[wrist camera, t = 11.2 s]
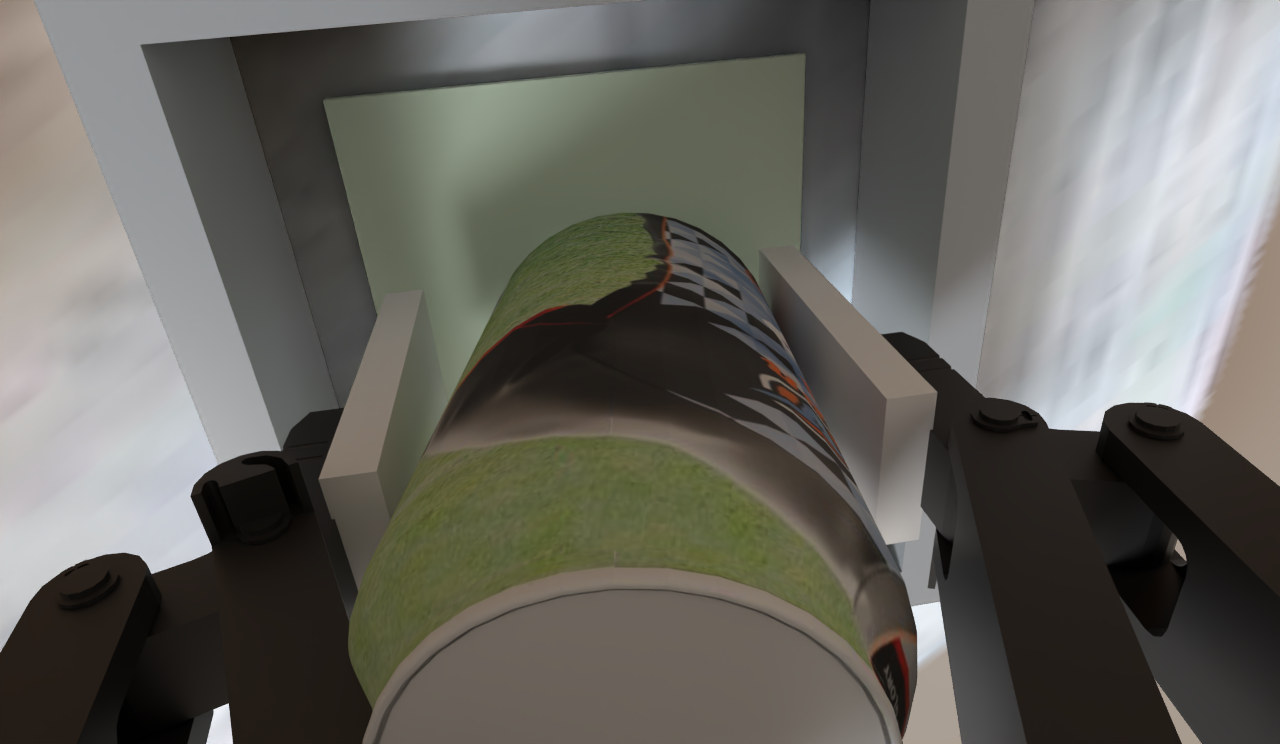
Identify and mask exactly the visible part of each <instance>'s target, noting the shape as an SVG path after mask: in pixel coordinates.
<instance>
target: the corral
mask: <svg viewBox="0 0 1280 744" xmlns="http://www.w3.org/2000/svg"><path fill="white" fill-rule="evenodd" d="M632 1H644V0H34V2H35V5H36V7H37V10H38V12H39V15H40V17H41V20H42V22H43V25H44V27H45V30H46V32H47V35H48V37H49V40H50V42H51V45H52V47H53V50H54V53H55V55H56V58H57V60H58V63H59V65H60V68H61V70H62V73H63V75H64V78H65V80H66V83H67V85H68V88H69V90H70V93H71V95H72V98H73V100H74V103H75V105H76V108H77V110H78V113H79V115H80V118H81V120H82V123H83V125H84V128H85V131H86V133H87V136H88V138H89V141H90V143H91V146H92V148H93V151H94V153H95V156H96V158H97V161H98V163H99V166H100V168H101V171H102V173H103V176H104V178H105V181H106V183H107V186H108V188H109V191H110V193H111V196H112V198H113V201H114V203H115V206H116V209H117V211H118V214H119V216H120V219H121V221H122V224H123V226H124V229H125V231H126V234H127V236H128V239H129V241H130V244H131V246H132V249H133V251H134V254H135V256H136V259H137V261H138V264H139V266H140V269H141V271H142V274H143V276H144V279H145V281H146V284H147V287H148V289H149V292H150V294H151V297H152V299H153V302H154V304H155V307H156V309H157V312H158V314H159V317H160V319H161V322H162V324H163V327H164V329H165V332H166V334H167V337H168V339H169V342H170V344H171V347H172V349H173V352H174V354H175V357H176V359H177V362H178V365H179V367H180V370H181V372H182V375H183V377H184V380H185V382H186V385H187V387H188V390H189V392H190V395H191V397H192V400H193V402H194V405H195V407H196V410H197V412H198V415H199V417H200V420H201V422H202V425H203V427H204V430H205V432H206V435H207V437H208V440H209V443H210V445H211V448H212V450H213V453H214V455H215V458H216V460H217V463H218V465H219V464H221V463H223V462H226V461H228V460H231V459H233V458H235V457H238V456H240V455H245V454H249V453H254V452H258V451H282V450H283V445H284V443H285V441H286V439H287V436H288V434H289V432H290V430H291V429H292V428H293V427H294V426H295V425H296V424H297V423H298V422H300V421H301V420H302V419H303V418H304V417H305V416H306V415H307V414H309V413H310V412H315V411H323V410H330V409H338V408H339V406H338V402H337V399H336V395H335V392H334V389H333V385H332V382H331V379H330V375H329V372H328V368H327V365H326V362H325V358H324V355H323V352H322V348H321V345H320V341H319V338H318V335H317V331H316V328H315V325H314V321H313V318H312V314H311V311H310V308H309V304H308V301H307V297H306V294H305V291H304V287H303V284H302V281H301V277H300V274H299V270H298V267H297V264H296V260H295V257H294V254H293V250H292V247H291V243H290V240H289V237H288V233H287V230H286V227H285V223H284V220H283V216H282V213H281V210H280V206H279V203H278V200H277V196H276V193H275V189H274V186H273V183H272V179H271V176H270V172H269V169H268V166H267V162H266V159H265V156H264V152H263V149H262V145H261V142H260V139H259V135H258V132H257V129H256V125H255V122H254V118H253V115H252V112H251V108H250V105H249V102H248V98H247V95H246V91H245V88H244V85H243V81H242V78H241V75H240V71H239V68H238V64H237V61H236V58H235V54H234V51H233V47H232V44H231V41H230V37H233V36H244V35H256V34H267V33H279V32H290V31H301V30H313V29H324V28H336V27H347V26H359V25H370V24H381V23H393V22H404V21H416V20H427V19H438V18H450V17H461V16H473V15H484V14H495V13H507V12H518V11H530V10H541V9H552V8H564V7H575V6H587V5H598V4H609V3H621V2H632ZM1034 3H1035V0H871V2H870V18H869V34H868V50H867V66H866V82H865V99H864V115H863V131H862V147H861V163H860V179H859V195H858V212H857V228H856V244H855V260H854V276H853V292H852V306H853V307H854V308H855V309H856V310H857V311H858V312H859V313H860V314H861V315H862V316H863V317H864V318H865V319H866V320H867V321H868V322H869V323H870V324H871V325H872V326H873V327H874V328H875V329H876V330H877V331H878V332H879V333H880V334H887V333H895V332H904V333H906V334H908V335H911V336H913V337H915V338H917V339H919V340H922V341H924V342H926V343H927V344H928V345H929V346H930V347H931V348H932V349H933V350H934V351H935V352H936V353H937V354H939V356H940V358H943V359H944V360H945V361H946V362H947V363H948V364H949V365H950V366H951V369H955V370H956V371H957V372H958V373H959V374H960V375H961V376H962V377H963V378H964V379H965V380H966V381H968V382H969V383H970V384H971V385H972V386H973V387H974V388H975V389H976V384H977V377H978V371H979V364H980V358H981V351H982V345H983V338H984V331H985V325H986V318H987V312H988V305H989V299H990V292H991V285H992V279H993V272H994V266H995V259H996V253H997V246H998V239H999V233H1000V226H1001V220H1002V213H1003V207H1004V200H1005V193H1006V187H1007V180H1008V174H1009V167H1010V161H1011V154H1012V147H1013V141H1014V134H1015V128H1016V121H1017V115H1018V108H1019V101H1020V95H1021V88H1022V82H1023V75H1024V69H1025V62H1026V55H1027V49H1028V42H1029V36H1030V29H1031V23H1032V16H1033V9H1034ZM805 57H806V54H804V53H792V54H782V55H771V56H761V57H750V58H740V59H729V60H719V61H709V62H698V63H688V64H677V65H667V66H656V67H646V68H635V69H625V70H615V71H604V72H594V73H583V74H573V75H562V76H552V77H542V78H531V79H521V80H510V81H500V82H489V83H479V84H469V85H458V86H448V87H437V88H427V89H416V90H406V91H396V92H385V93H375V94H364V95H354V96H343V97H333V98H325V99H324V100H323V104H324V108H325V111H326V115H327V119H328V123H329V127H330V131H331V135H332V139H333V143H334V147H335V151H336V155H337V159H338V163H339V167H340V171H341V175H342V179H343V183H344V187H345V191H346V195H347V199H348V202H349V206H350V210H351V214H352V218H353V222H354V226H355V230H356V234H357V238H358V242H359V246H360V250H361V254H362V258H363V262H364V266H365V270H366V274H367V278H368V282H369V286H370V290H371V293H372V297H373V301H374V305H375V309H376V313H377V317H378V314H379V311H380V309H381V306H382V303H383V300H384V298H385V295H386V294H388V293H396V292H405V291H413V290H421V289H423V291H424V295H425V300H426V304H427V309H428V314H429V318H430V323H431V327H432V332H433V337H434V341H435V346H436V350H437V355H438V359H439V364H440V369H441V373H442V378H443V382H444V387H445V391H446V396H447V401H448V402H449V400H450V398H451V396H452V394H453V392H454V390H455V388H456V386H457V383H458V381H459V379H460V377H461V375H462V373H463V371H464V369H465V367H466V365H467V363H468V361H469V359H470V357H471V355H472V353H473V351H474V349H475V347H476V345H477V343H478V341H479V339H480V337H481V335H482V333H483V331H484V329H485V326H486V324H487V322H488V320H489V318H490V316H491V314H492V312H493V310H494V308H495V306H496V304H497V302H498V300H499V298H500V296H501V294H502V292H503V290H504V289H505V287H506V285H507V283H508V281H509V280H510V278H511V276H512V274H513V273H514V271H515V270H516V269H517V268H518V267H519V265H520V264H521V263H522V262H523V261H524V260H525V258H526V257H527V256H528V255H529V254H530V253H531V252H532V251H533V250H535V249H536V248H537V247H538V246H539V245H541V244H542V243H543V242H544V241H546V240H547V239H548V238H549V237H551V236H553V235H555V234H556V233H558V232H560V231H562V230H564V229H566V228H567V227H569V226H571V225H573V224H576V223H579V222H582V221H585V220H588V219H591V218H594V217H597V216H604V215H611V214H617V213H650V214H655V215H660V216H665V217H670V218H675V219H678V220H680V221H683V222H685V223H688V224H690V225H693V226H695V227H698V228H700V229H702V230H703V231H705V232H706V233H708V234H710V235H711V236H713V237H715V238H716V239H718V240H719V241H721V242H722V243H723V244H724V245H726V246H727V247H728V248H729V249H730V250H731V251H732V252H733V253H734V254H736V255H737V256H738V257H739V258H740V259H741V261H742V262H743V263H744V265H745V266H746V267H747V268H748V270H749V271H750V272H751V274H752V275H753V276H754V278H755V280H756V282H757V284H758V286H759V249H763V248H771V247H780V246H788V245H794V246H795V247H796V248H797V249H798V250H799V251H800V242H801V205H802V168H803V131H804V94H805ZM935 531H936V527H935V525H934V524H933V523H932V521H931V520H930V519H929V517H928V516H927V515H926V513H925V512H924V511H923V510H922V518H921V526H920V534H919V540H913V541H907V542H900V543H894V544H888V545H887V547H888V549H889V551H890V553H891V555H892V557H893V559H894V561H895V563H896V565H897V568H898V570H899V572H900V574H901V576H902V578H903V580H904V582H905V585H906V588H907V592H908V596H909V600H910V605H911V606H916V605H922V604H928V603H934V602H940V597H939V590H938V584H937V582H936V586H935V589H930V588H928V581H929V574H930V567H931V560H932V552H933V545H934V538H935Z"/></svg>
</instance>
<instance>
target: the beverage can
mask: <svg viewBox="0 0 1280 744" xmlns="http://www.w3.org/2000/svg"><path fill="white" fill-rule="evenodd" d="M348 650H349V657H350V660H351V664H352V666H353V669H354V671H355V673H356V676H357V678H358V680H359V682H360V684H361V686H362V688H363V690H364V693H365V695H366V697H367V699H368V701H369V703H370V705H371V707H372V710H373V712H372V715H371V718H370V721H369V724H368V727H367V729H366V732H365V735H364V738H363V744H903V741H902V739H903V736H904V734H905V732H906V728H907V724H908V720H909V715H910V711H911V707H912V702H913V698H914V693H915V689H916V684H917V630H916V625H915V621H914V617H913V613H912V609H911V605H910V600H909V596H908V592H907V588H906V585H905V582H904V580H903V578H902V576H901V574H900V572H899V570H898V568H897V565H896V563H895V561H894V559H893V557H892V555H891V553H890V551H889V549H888V547H887V545H886V543H885V541H884V539H883V537H882V535H881V533H880V531H879V529H878V527H877V525H876V523H875V521H874V519H873V517H872V515H871V513H870V511H869V509H868V507H867V505H866V503H865V501H864V498H863V496H862V494H861V492H860V490H859V488H858V486H857V484H856V482H855V480H854V478H853V476H852V474H851V472H850V470H849V468H848V466H847V464H846V462H845V460H844V458H843V456H842V454H841V452H840V450H839V448H838V446H837V444H836V442H835V440H834V438H833V436H832V434H831V431H830V429H829V427H828V425H827V423H826V421H825V419H824V417H823V415H822V413H821V411H820V409H819V407H818V405H817V403H816V401H815V399H814V397H813V395H812V393H811V391H810V389H809V387H808V385H807V383H806V381H805V379H804V377H803V375H802V373H801V371H800V369H799V367H798V364H797V362H796V360H795V358H794V356H793V354H792V352H791V350H790V348H789V346H788V344H787V342H786V340H785V338H784V336H783V334H782V332H781V330H780V328H779V326H778V324H777V322H776V320H775V318H774V316H773V314H772V312H771V310H770V308H769V306H768V304H767V302H766V300H765V298H764V296H763V294H762V292H761V290H760V288H759V286H758V284H757V282H756V280H755V278H754V276H753V275H752V274H751V272H750V271H749V270H748V268H747V267H746V266H745V265H744V263H743V262H742V261H741V259H740V258H739V257H738V256H737V255H736V254H734V253H733V252H732V251H731V250H730V249H729V248H728V247H727V246H726V245H724V244H723V243H722V242H721V241H719V240H718V239H716V238H715V237H713V236H711V235H710V234H708V233H706V232H705V231H703V230H702V229H700V228H698V227H695V226H693V225H690V224H688V223H685V222H683V221H680V220H678V219H675V218H670V217H665V216H660V215H655V214H650V213H617V214H611V215H604V216H597V217H594V218H591V219H588V220H585V221H582V222H579V223H576V224H573V225H571V226H569V227H567V228H566V229H564V230H562V231H560V232H558V233H556V234H555V235H553V236H551V237H549V238H548V239H547V240H546V241H544V242H543V243H542V244H541V245H539V246H538V247H537V248H536V249H535V250H533V251H532V252H531V253H530V254H529V255H528V256H527V257H526V258H525V260H524V261H523V262H522V263H521V264H520V265H519V267H518V268H517V269H516V270H515V271H514V273H513V274H512V276H511V278H510V280H509V281H508V283H507V285H506V287H505V289H504V290H503V292H502V294H501V296H500V298H499V300H498V302H497V304H496V306H495V308H494V310H493V312H492V314H491V316H490V318H489V320H488V322H487V324H486V326H485V329H484V331H483V333H482V335H481V337H480V339H479V341H478V343H477V345H476V347H475V349H474V351H473V353H472V355H471V357H470V359H469V361H468V363H467V365H466V367H465V369H464V371H463V373H462V375H461V377H460V379H459V381H458V383H457V386H456V388H455V390H454V392H453V394H452V396H451V398H450V400H449V402H448V404H447V406H446V408H445V410H444V412H443V414H442V416H441V418H440V420H439V422H438V424H437V426H436V428H435V430H434V432H433V434H432V436H431V438H430V440H429V443H428V445H427V447H426V449H425V451H424V453H423V455H422V457H421V459H420V461H419V463H418V465H417V467H416V469H415V471H414V473H413V475H412V477H411V479H410V481H409V483H408V485H407V487H406V489H405V491H404V493H403V495H402V497H401V500H400V502H399V504H398V506H397V508H396V510H395V512H394V514H393V516H392V518H391V520H390V522H389V524H388V526H387V528H386V530H385V532H384V534H383V536H382V538H381V540H380V542H379V544H378V546H377V548H376V550H375V552H374V554H373V557H372V559H371V561H370V563H369V565H368V567H367V569H366V571H365V573H364V576H363V579H362V582H361V585H360V588H359V592H358V595H357V598H356V601H355V604H354V608H353V611H352V614H351V617H350V623H349V636H348Z"/></svg>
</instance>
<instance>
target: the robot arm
mask: <svg viewBox="0 0 1280 744" xmlns="http://www.w3.org/2000/svg"><path fill="white" fill-rule="evenodd" d="M759 288H760V290H761V292H762V294H763V296H764V298H765V300H766V302H767V304H768V306H769V308H770V310H771V312H772V314H773V316H774V318H775V320H776V322H777V324H778V326H779V328H780V330H781V332H782V334H783V336H784V338H785V340H786V342H787V344H788V346H789V348H790V350H791V352H792V354H793V356H794V358H795V360H796V362H797V364H798V367H799V369H800V371H801V373H802V375H803V377H804V379H805V381H806V383H807V385H808V387H809V389H810V391H811V393H812V395H813V397H814V399H815V401H816V403H817V405H818V407H819V409H820V411H821V413H822V415H823V417H824V419H825V421H826V423H827V425H828V427H829V429H830V431H831V434H832V436H833V438H834V440H835V442H836V444H837V446H838V448H839V450H840V452H841V454H842V456H843V458H844V460H845V462H846V464H847V466H848V468H849V470H850V472H851V474H852V476H853V478H854V480H855V482H856V484H857V486H858V488H859V490H860V492H861V494H862V496H863V498H864V501H865V503H866V505H867V507H868V509H869V511H870V513H871V515H872V517H873V519H874V521H875V523H876V525H877V527H878V529H879V531H880V533H881V535H882V537H883V539H884V541H885V543H886V545H888V544H894V543H900V542H907V541H913V540H919V534H920V526H921V518H922V510H923V511H924V512H925V513H926V515H927V516H928V517H929V519H930V520H931V521H932V523H933V524H934V525H935V527H936V531H935V538H934V545H933V552H932V560H931V567H930V574H929V581H928V588H930V589H935V586H936V582H937V584H938V590H939V597H940V603H941V610H942V617H943V623H944V630H945V636H946V643H947V649H948V656H949V662H950V669H951V676H952V682H953V689H954V695H955V702H956V709H957V715H958V721H959V728H960V734H961V741H962V744H1182V743H1181V741H1180V738H1179V736H1178V734H1177V731H1176V729H1175V727H1174V724H1173V722H1172V720H1171V717H1170V715H1169V712H1168V710H1167V708H1166V705H1165V703H1164V701H1163V698H1162V696H1161V693H1160V691H1159V689H1158V686H1157V684H1156V681H1157V683H1158V684H1159V685H1160V687H1161V688H1162V690H1163V691H1164V692H1165V694H1166V695H1167V696H1168V698H1169V699H1170V701H1171V702H1172V703H1173V705H1174V706H1175V707H1176V709H1177V710H1178V711H1179V713H1180V714H1181V716H1182V717H1183V718H1184V720H1185V721H1186V722H1187V724H1188V725H1189V726H1190V728H1191V729H1192V731H1193V732H1194V733H1195V735H1196V736H1197V737H1198V739H1199V740H1200V741H1201V743H1202V744H1280V486H1278V485H1277V484H1276V483H1275V482H1273V481H1272V480H1271V479H1270V478H1269V477H1267V476H1266V475H1265V474H1264V473H1262V472H1261V471H1260V470H1259V469H1258V468H1256V467H1255V466H1254V465H1253V464H1251V463H1250V462H1249V461H1248V460H1247V459H1245V458H1244V457H1243V456H1242V455H1240V454H1239V453H1238V452H1237V451H1236V450H1234V449H1233V448H1232V447H1231V446H1229V445H1228V444H1227V443H1226V442H1224V441H1223V440H1222V439H1221V438H1220V437H1218V436H1217V435H1216V434H1215V433H1213V432H1212V431H1211V430H1210V429H1209V428H1207V427H1206V426H1205V425H1204V424H1203V423H1201V422H1200V421H1198V420H1196V419H1195V418H1193V417H1191V416H1190V415H1188V414H1186V413H1183V412H1180V411H1178V410H1175V409H1172V408H1171V407H1169V406H1165V405H1161V404H1159V405H1156V404H1155V403H1125V404H1120V405H1115V406H1113V407H1111V408H1110V409H1108V410H1107V411H1105V414H1104V418H1103V422H1102V426H1101V430H1100V432H1097V431H1075V430H1057V429H1049V428H1048V426H1047V423H1046V422H1045V421H1044V419H1043V418H1042V417H1041V416H1040V414H1039V413H1037V412H1035V411H1034V410H1032V409H1030V408H1029V407H1027V406H1025V405H1022V404H1019V403H1016V402H1013V401H1010V400H1004V399H997V398H985V397H984V396H983V395H982V394H980V393H979V392H978V391H977V390H976V389H975V388H974V387H973V386H972V385H971V384H970V383H969V382H968V381H966V380H965V379H964V378H963V377H962V376H961V375H960V374H959V373H958V372H957V371H956V370H955V369H951V366H950V365H949V364H948V363H947V362H946V361H945V360H944V359H943V358H940V356H939V354H937V353H936V352H935V351H934V350H933V349H932V348H931V347H930V346H929V345H928V344H927V343H926V342H924V341H922V340H919V339H917V338H915V337H913V336H911V335H908V334H906V333H904V332H895V333H887V334H880V333H879V332H878V331H877V330H876V329H875V328H874V327H873V326H872V325H871V324H870V323H869V322H868V321H867V320H866V319H865V318H864V317H863V316H862V315H861V314H860V313H859V312H858V311H857V310H856V309H855V308H854V307H853V306H852V304H851V303H850V302H849V301H848V300H847V299H846V298H845V297H844V296H843V295H842V294H841V293H840V292H839V291H838V290H837V289H836V288H835V287H834V286H833V285H832V284H831V283H830V282H829V281H828V280H827V279H826V278H825V277H824V276H823V275H822V274H821V273H820V272H819V271H818V270H817V269H816V268H815V267H814V266H813V265H812V264H811V263H810V262H809V261H808V260H807V259H806V258H805V257H804V256H803V255H802V253H801V252H800V251H799V250H798V249H797V248H796V247H795V246H794V245H788V246H780V247H771V248H763V249H759ZM447 404H448V401H447V396H446V391H445V387H444V382H443V378H442V373H441V369H440V364H439V359H438V355H437V350H436V346H435V341H434V337H433V332H432V327H431V323H430V318H429V314H428V309H427V304H426V300H425V295H424V291H423V289H421V290H413V291H405V292H396V293H388V294H386V295H385V298H384V300H383V303H382V306H381V309H380V311H379V314H378V317H377V320H376V322H375V325H374V328H373V331H372V333H371V336H370V339H369V342H368V344H367V347H366V350H365V353H364V356H363V358H362V361H361V364H360V367H359V369H358V372H357V375H356V378H355V380H354V383H353V386H352V389H351V391H350V394H349V397H348V400H347V402H346V405H345V408H338V409H330V410H323V411H315V412H310V413H309V414H307V415H306V416H305V417H304V418H303V419H302V420H301V421H300V422H298V423H297V424H296V425H295V426H294V427H293V428H292V429H291V430H290V432H289V434H288V436H287V439H286V441H285V443H284V445H283V450H282V451H258V452H254V453H249V454H245V455H240V456H238V457H235V458H233V459H231V460H228V461H226V462H223V463H221V464H219V465H218V466H216V467H215V468H213V469H211V470H210V471H208V472H207V473H205V474H204V475H203V476H202V477H201V478H200V479H199V480H198V481H197V483H196V484H195V485H194V487H193V490H192V493H191V499H192V501H193V503H194V506H195V508H196V510H197V513H198V515H199V517H200V520H201V522H202V524H203V527H204V529H205V531H206V534H207V536H208V538H209V541H210V543H211V545H212V552H210V553H208V554H206V555H204V556H202V557H199V558H197V559H194V560H192V561H189V562H186V563H183V564H180V565H177V566H174V567H171V568H169V569H166V570H163V571H160V572H157V573H154V574H151V572H150V570H149V568H148V566H147V564H146V563H145V562H144V561H143V560H142V558H141V557H140V556H138V555H133V554H128V553H117V554H107V555H103V556H99V557H96V558H93V559H90V560H85V561H83V562H80V563H78V564H76V565H75V566H71V567H70V568H68V569H66V570H64V571H63V572H61V573H60V574H59V575H57V576H56V577H54V578H53V579H52V580H50V581H49V582H48V583H46V584H45V585H44V586H42V588H41V589H40V590H39V591H38V592H37V594H36V595H35V596H34V597H33V598H32V600H31V601H30V602H29V604H28V606H27V607H26V609H25V611H24V613H23V614H22V616H21V618H20V620H19V621H18V623H17V625H16V627H15V628H14V630H13V632H12V634H11V635H10V637H9V639H8V641H7V642H6V644H5V646H4V647H3V649H2V651H1V653H0V744H206V742H207V738H208V734H209V729H210V725H211V721H212V717H213V709H215V708H218V707H220V706H223V705H225V704H228V703H229V709H230V719H231V728H232V737H233V744H363V738H364V735H365V732H366V729H367V727H368V724H369V721H370V718H371V715H372V712H373V710H372V707H371V705H370V703H369V701H368V699H367V697H366V695H365V693H364V690H363V688H362V686H361V684H360V682H359V680H358V678H357V676H356V673H355V671H354V669H353V666H352V664H351V660H350V657H349V650H348V636H349V623H350V617H351V614H352V611H353V608H354V604H355V601H356V598H357V595H358V592H359V588H360V585H361V582H362V579H363V576H364V573H365V571H366V569H367V567H368V565H369V563H370V561H371V559H372V557H373V554H374V552H375V550H376V548H377V546H378V544H379V542H380V540H381V538H382V536H383V534H384V532H385V530H386V528H387V526H388V524H389V522H390V520H391V518H392V516H393V514H394V512H395V510H396V508H397V506H398V504H399V502H400V500H401V497H402V495H403V493H404V491H405V489H406V487H407V485H408V483H409V481H410V479H411V477H412V475H413V473H414V471H415V469H416V467H417V465H418V463H419V461H420V459H421V457H422V455H423V453H424V451H425V449H426V447H427V445H428V443H429V440H430V438H431V436H432V434H433V432H434V430H435V428H436V426H437V424H438V422H439V420H440V418H441V416H442V414H443V412H444V410H445V408H446V406H447ZM1177 539H1179V541H1180V543H1181V544H1182V546H1183V549H1184V552H1185V554H1186V559H1187V561H1185V560H1184V559H1183V558H1182V557H1181V556H1180V555H1179V554H1178V552H1177V551H1176V550H1175V546H1176V542H1177ZM1155 680H1156V681H1155Z"/></svg>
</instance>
